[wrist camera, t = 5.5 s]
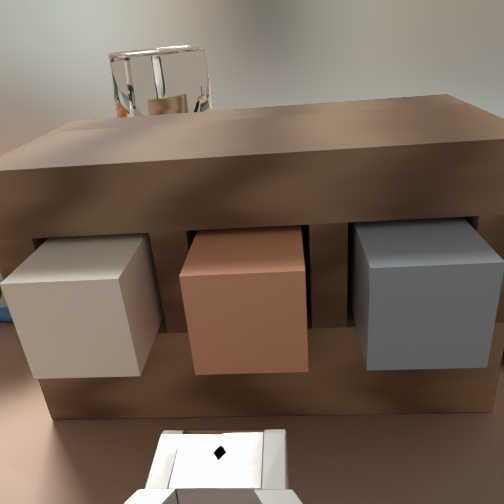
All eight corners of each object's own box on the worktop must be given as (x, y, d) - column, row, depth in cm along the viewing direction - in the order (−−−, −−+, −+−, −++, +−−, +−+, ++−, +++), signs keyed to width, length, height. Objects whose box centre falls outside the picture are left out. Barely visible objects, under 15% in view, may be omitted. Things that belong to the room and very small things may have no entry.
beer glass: (238, 253, 37) (217, 45, 30) (149, 272, 35) (106, 56, 29) (217, 223, 43) (195, 44, 36) (140, 238, 41) (103, 53, 35)
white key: (33, 378, 17) (-1, 283, 16) (92, 294, 23) (72, 216, 21) (140, 376, 17) (117, 279, 15) (173, 290, 22) (160, 211, 21)
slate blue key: (366, 370, 16) (370, 267, 15) (345, 284, 22) (346, 201, 20) (486, 367, 16) (505, 262, 14) (434, 280, 21) (443, 196, 20)
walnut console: (52, 419, 22) (-35, 172, 17) (117, 305, 31) (74, 121, 26) (491, 411, 21) (543, 136, 15) (427, 293, 30) (447, 94, 24)
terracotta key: (195, 374, 17) (179, 276, 15) (215, 289, 22) (205, 209, 20) (308, 372, 16) (305, 270, 15) (301, 285, 22) (298, 204, 20)
